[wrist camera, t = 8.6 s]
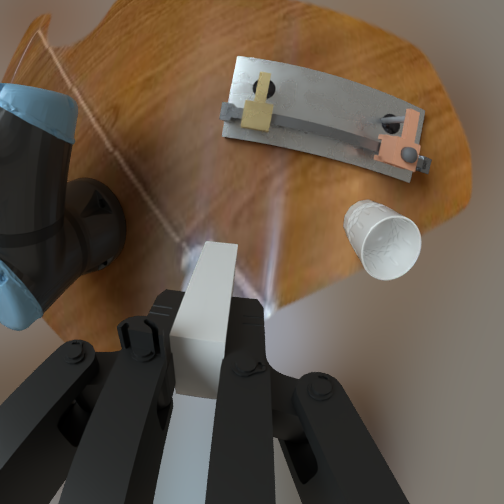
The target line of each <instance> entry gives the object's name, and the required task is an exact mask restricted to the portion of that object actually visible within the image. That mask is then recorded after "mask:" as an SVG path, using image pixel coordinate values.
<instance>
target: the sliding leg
mask: <svg viewBox="0 0 504 504" xmlns="http://www.w3.org/2000/svg"><path fill="white" fill-rule="evenodd" d="M419 115H420V112H417V111H415V110H413V109H411V108H410V109H406V115H405V116H397V117H386V118H382V119H381V122H382V123H383V124H388V123H404V125H403V131H402V136H401V137H399V136H390V135H383V134H379V136H378V139H379V140H382V141H381V146H380V150H379V155H374V160H377V161H380V162H383V163H386V164H389V165H392V166H394V167H398V168H401V169H407V170H410V171H413V172H415V169H416V165H417V161H418V157H419V152H420V148H421V146H420V145H418V144H416V143H414V142H415V137H416V132H417V127H418V121H419Z"/></svg>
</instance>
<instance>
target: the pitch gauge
mask: <svg viewBox="0 0 504 504" xmlns="http://www.w3.org/2000/svg"><path fill="white" fill-rule="evenodd" d="M410 108H411V109H413V110H415V111H417V112H420V115H419V121H418V127H417V132H416V137H415V142H414V143H416V144H418V145H419V141H420V136H421V131H422V126H423V120H424V114H425V110H423V109H420V108H418V107H416V106H414V105H412V104H410V103H408V102H405V101H403V100H401V99H398V98H396V97H394V96H391V95H389V94H386V93H384V92H381V91H379V90H376V89H373V88H371V87H368V86H365V85H362V84H359V83H356V82H353V81H350V80H347V79H344V78H341V77H338V76H334V75H331V74H327V73H324V72H320V71H316V70H312V69H308V68H304V67H299V66H295V65H290V64H285V63H280V62H275V61H269V60H263V59H257V58H250V57H242V56H238V57H237V62H236V66H235V71H234V76H233V80H232V85H231V90H230V95H229V100H228V103H226V102H222V107H221V113H220V118H219V119H220V120H223V121H225V122H224V127H223V133H222V136H223V137H229V138H236V139H242V140H248V141H254V142H259V143H265V144H270V145H275V146H280V147H285V148H289V149H294V150H298V151H303V152H307V153H311V154H315V155H319V156H323V157H327V158H331V159H335V160H339V161H342V162H346V163H349V164H353V165H356V166H360V167H363V168H366V169H370V170H373V171H376V172H379V173H382V174H385V175H388V176H391V177H394V178H397V179H400V180H403V181H406V182H408V183H410V180H411V176H412V172H413V171H410V170H407V169H401V168H398V167H394V166H392V165H389V164H386V163H383V162H380V161H377V160H374V155H379V150H380V146H381V141H382V140H379V139H378V136H379V134H383V135H390V136H399V137H401V136H402V131H403V125H404V123H388V124H383V123H382V122H381V119H382V118H386V117H397V116H405V115H406V109H410ZM430 164H431V159H429V158H427V157H424V156H420V155H419V157H418V161H417V165H416V169H415V170H416V171H419V172H422V173H426V174H428V173H429V169H430Z"/></svg>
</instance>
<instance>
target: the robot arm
mask: <svg viewBox="0 0 504 504" xmlns="http://www.w3.org/2000/svg"><path fill="white" fill-rule="evenodd" d="M77 116H78V106H77V103H76V101H75V100H74V99H73V98H72V97H70V96H68V95H65V94H61V93H58V92H54V91H50V90H45V89H41V88H36V87H30V86H24V85H18V84H7V83H0V323H1V324H3V325H4V326H6V327H8V328H10V329H12V330H17V331H20V330H24V329H26V328H28V327H29V326H30V325H31V324H32V323H33V322H34V321H35V320H37V319H38V318H41V317H42V316H43V313H44V312H45V311H46V310H47V309H48V308H49V307H50V306H51V305H52V304H53V303H54V302H55V301H56V300H57V299H58V298H59V297H60V296H61V295H62V294H63V293H64V292H65V290H66V289H67V288H68V287H69V286H70V285H72V284H73V283H74V282H75V281H76V280H77V279H78V278H79V277H80V276H81V275H84V274H88V273H91V272H95V271H98V270H101V269H103V268H105V267H107V266H108V265H109V264H110V263H111V262H113V261H114V260H115V259H116V258H117V257H118V255H119V254H120V252H121V251H122V249H123V246H124V243H125V238H126V223H125V217H124V213H123V210H122V208H121V206H120V203H119V202H118V200H117V198H116V197H115V195H114V194H113V193H112V192H111V190H110V189H109V188H108V187H106V186H105V185H104V184H102V183H101V182H99V181H97V180H94V179H91V178H79V179H76V180H73V181H70V182H68V183H67V178H68V170H69V163H70V157H71V151H72V146H73V144H74V143H75V139H74V134H75V127H76V121H77ZM237 248H238V244H229V243H220V242H211V241H206V242H205V245H204V247H203V250H202V252H201V254H200V257H199V259H198V262H197V264H196V267H195V269H194V272H193V274H192V277H191V280H190V282H189V285H188V287H187V290H186V292H181V291H174V290H167V289H166V290H165V291H164V292H162V293H161V294H160V295H158V296H157V298H156V300H155V302H154V304H153V306H152V308H151V310H150V313H149V314H148V316H134V317H129V318H127V319H125V320H123V321H122V322H121V323H120V324H119V325H118V326H117V330H118V334H119V339H120V343H121V347H122V349H121V350H120V351H115V352H95V350H94V348H93V346H92V345H91V344H90V343H88V342H86V341H83V340H71V341H68V342H66V343H64V344H63V345H61V346H60V347H59V348H58V349H57V350H56V351H55V352H54V353H52V354H51V355H50V356H49V357H48V358H47V359H46V360H45V361H44V362H43V363H42V364H41V365H40V366H39V367H38V368H37V369H36V370H35V371H34V372H33V373H32V374H31V375H30V376H29V377H28V378H27V379H26V380H25V381H24V382H23V383H22V384H21V385H20V386H19V387H18V388H17V389H16V390H15V391H14V392H13V393H12V394H11V395H10V396H9V397H8V398H7V399H6V400H5V401H4V402H3V404H2V405H1V406H0V504H49V503H50V501H51V500H52V498H53V497H54V496H55V494H56V493H57V491H58V490H59V488H60V487H61V486H62V484H63V483H64V481H65V480H66V482H65V484H64V488H63V491H62V494H61V497H60V501H59V504H153V500H154V495H155V489H156V484H157V479H158V474H159V469H160V464H161V459H162V455H163V449H164V445H165V440H166V436H167V432H168V427H169V423H170V418H171V414H172V409H173V398H172V396H173V392H174V388H175V390H176V393H177V394H182V395H188V396H194V397H202V398H209V399H217V401H216V409H215V417H214V426H213V434H212V435H213V436H212V444H211V452H210V461H209V470H208V480H207V490H206V500H205V504H276V503H275V475H274V449H273V437H275V438H278V440H279V442H280V446H281V448H282V451H283V454H284V457H285V459H286V462H287V465H288V467H289V470H290V473H291V475H292V478H293V481H294V483H295V486H296V489H297V491H298V494H299V496H300V499H301V502H302V504H409V502H408V500H407V498H406V497H405V495H404V493H403V491H402V489H401V488H400V486H399V484H398V482H397V480H396V479H395V477H394V475H393V473H392V472H391V470H390V468H389V466H388V465H387V463H386V461H385V459H384V458H383V456H382V454H381V452H380V451H379V449H378V447H377V445H376V444H375V442H374V440H373V439H372V437H371V435H370V433H369V432H368V430H367V428H366V426H365V425H364V423H363V421H362V420H361V418H360V416H359V414H358V413H357V411H356V409H355V407H354V406H353V404H352V402H351V401H350V399H349V397H348V395H347V394H346V392H345V391H344V389H343V387H342V385H341V384H340V383H339V382H338V381H337V379H335V378H334V377H332V376H330V375H329V374H325V373H321V372H311V373H308V374H305V375H303V376H302V377H301V378H300V379H296V378H292V377H289V376H286V375H283V374H281V373H279V372H277V371H276V370H274V369H273V368H272V367H271V366H270V365H269V363H268V361H267V359H266V353H265V330H264V308H263V306H262V305H261V304H260V302H259V301H258V299H249V298H239V297H232V296H233V287H234V277H235V267H236V257H237ZM66 478H67V479H66Z"/></svg>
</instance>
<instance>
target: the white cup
mask: <svg viewBox="0 0 504 504" xmlns="http://www.w3.org/2000/svg"><path fill="white" fill-rule="evenodd" d="M343 226H344V229H345V233H346V236H347V237H348V239H349V241H350V243H351V245H352V247H353V249H354V251H355V253H356V254H357V256H358V258H359V259H360V261H361V263H362V265H363V266H364V268H365V270H366V271H367V272H368V274H370V275H371V276H372V277H374V278H376V279H379V280H393V279H396V278H399V277H401V276H402V275H404V274H405V273H407V272H408V271H409V270H410V269H411V268H412V267H413V265H414V264H415V262H416V261H417V259H418V256H419V254H420V250H421V235H420V232H419V229H418V227H417V226H416V225H415V223H414V222H413V221H411V220H410V219H408V218H407V217H405V216H403V215H401V214H399V213H398V212H396V211H394V210H392V209H390V208H389V207H386V206H384V205H382V204H379V203H377V202H374V201H371V200H362V201H358V202H357V203H355V204H354V205H352V206H351V207H350V208H349V210H348V211H347V213H346V215H345V218H344V225H343Z"/></svg>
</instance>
